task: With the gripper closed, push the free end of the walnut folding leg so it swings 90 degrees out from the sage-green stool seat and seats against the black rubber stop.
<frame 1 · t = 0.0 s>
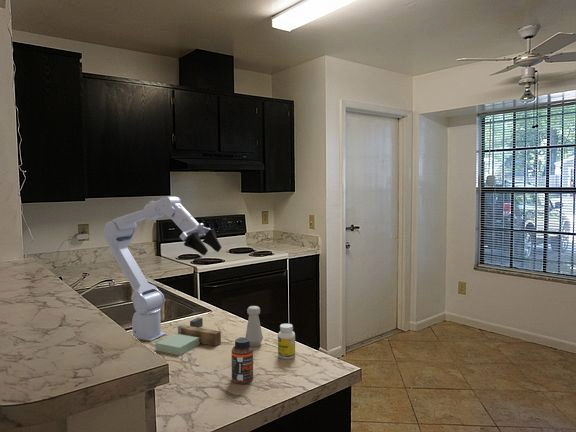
hand: (212, 251, 141), 32 cm above the counter, tool tilted 50°, fingers open, 7 cm apart
supplement bottle: (242, 380, 120), on the counter
leg stop: (196, 327, 164), on the counter
salt shaker: (254, 345, 146), on the counter
supplement bottle 2: (286, 356, 136), on the counter
stool seat: (177, 347, 144), on the counter
folding leg: (198, 334, 149), point 2 cm above the counter, hinge at 0.0°
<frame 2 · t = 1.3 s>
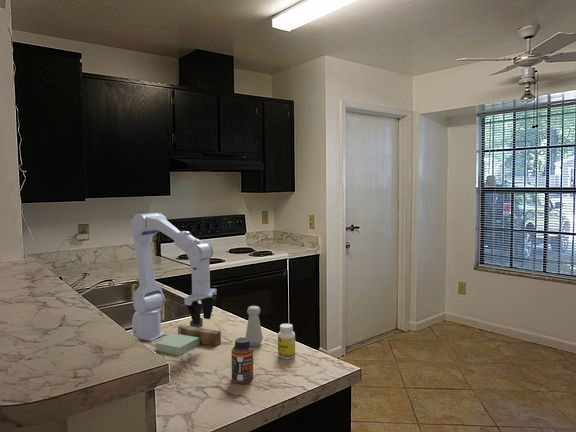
hand: (201, 321, 141), 9 cm above the counter, tool pointing down, fingers open, 5 cm apart
nothing on the counter moved.
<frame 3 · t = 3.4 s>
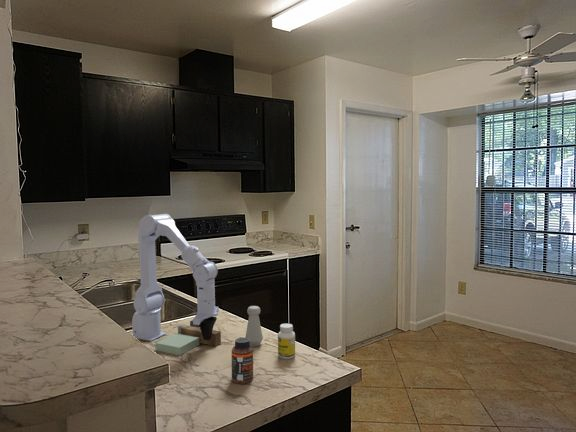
hand: (207, 339, 144), 2 cm above the counter, tool pointing down, fingers closed
folding leg: (198, 334, 149), point 2 cm above the counter, hinge at 0.1°, touching gripper
everything else where it was.
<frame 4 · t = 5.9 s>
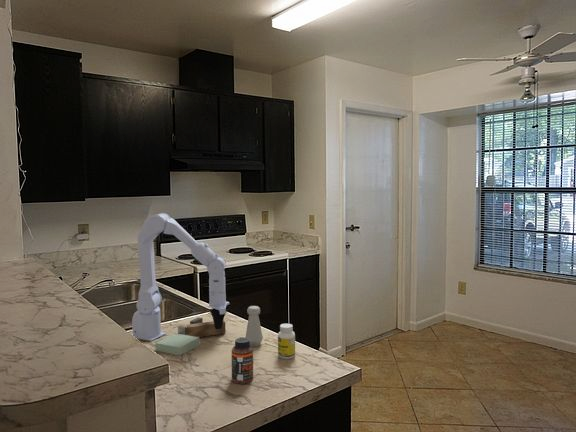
hand: (218, 328, 155), 2 cm above the counter, tool pointing down, fingers closed
folding leg: (201, 329, 155), point 2 cm above the counter, hinge at 48.0°, touching gripper
everything else where it was.
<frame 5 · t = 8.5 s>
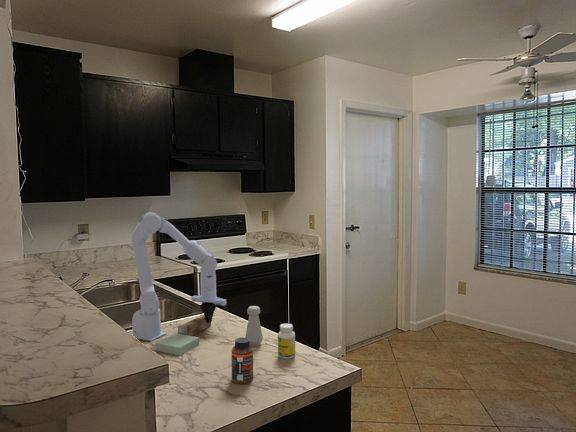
hand: (209, 322, 162), 2 cm above the counter, tool pointing down, fingers closed
folding leg: (194, 326, 158), point 2 cm above the counter, hinge at 90.3°, touching gripper
everything else where it was.
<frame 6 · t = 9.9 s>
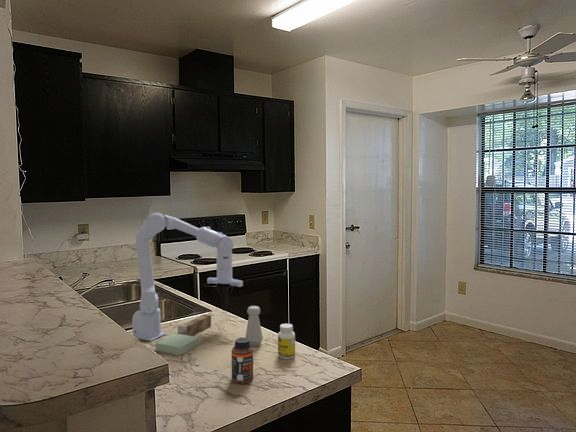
hand: (225, 303, 162), 9 cm above the counter, tool pointing down, fingers closed
folding leg: (194, 326, 158), point 2 cm above the counter, hinge at 90.3°
everything else where it was.
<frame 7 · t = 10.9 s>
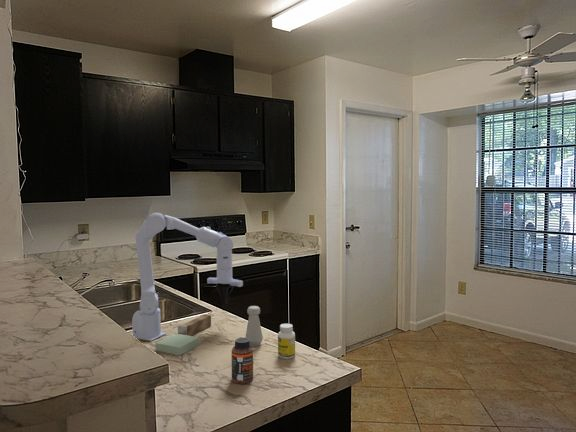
hand: (225, 303, 162), 9 cm above the counter, tool pointing down, fingers closed
nothing on the counter moved.
at the end: folding leg at +90° (first picture: +0°) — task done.
